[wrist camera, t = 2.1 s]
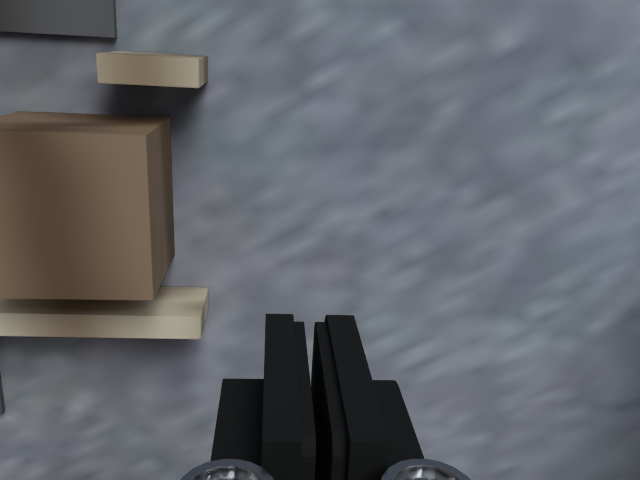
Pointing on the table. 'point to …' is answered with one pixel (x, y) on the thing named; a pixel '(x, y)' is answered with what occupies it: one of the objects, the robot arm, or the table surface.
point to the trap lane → (114, 68)
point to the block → (85, 206)
